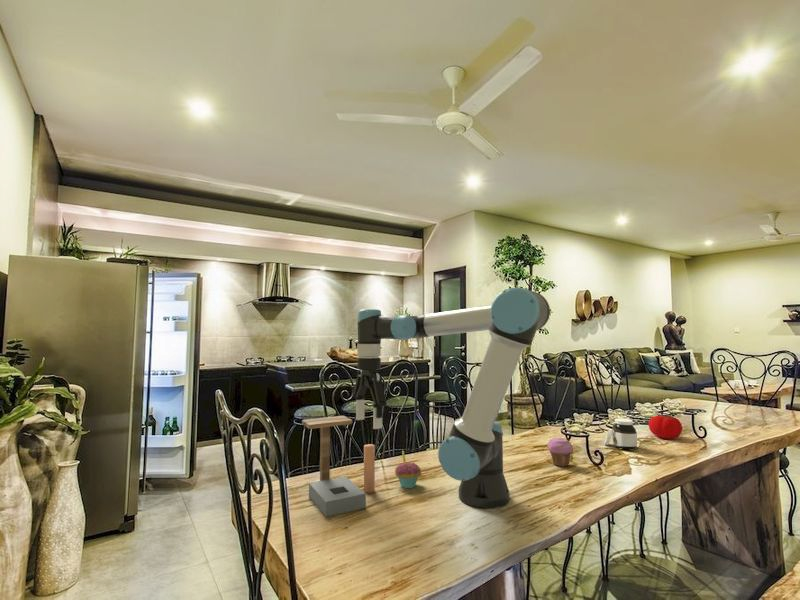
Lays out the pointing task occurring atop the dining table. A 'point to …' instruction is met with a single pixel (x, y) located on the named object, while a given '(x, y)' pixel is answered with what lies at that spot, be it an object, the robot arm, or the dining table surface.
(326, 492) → the socket block
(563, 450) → the cupcake
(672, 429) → the tomato
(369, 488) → the peg
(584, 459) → the dining table surface
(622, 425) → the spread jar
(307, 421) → the wooden t-shaped stand
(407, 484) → the cupcake
